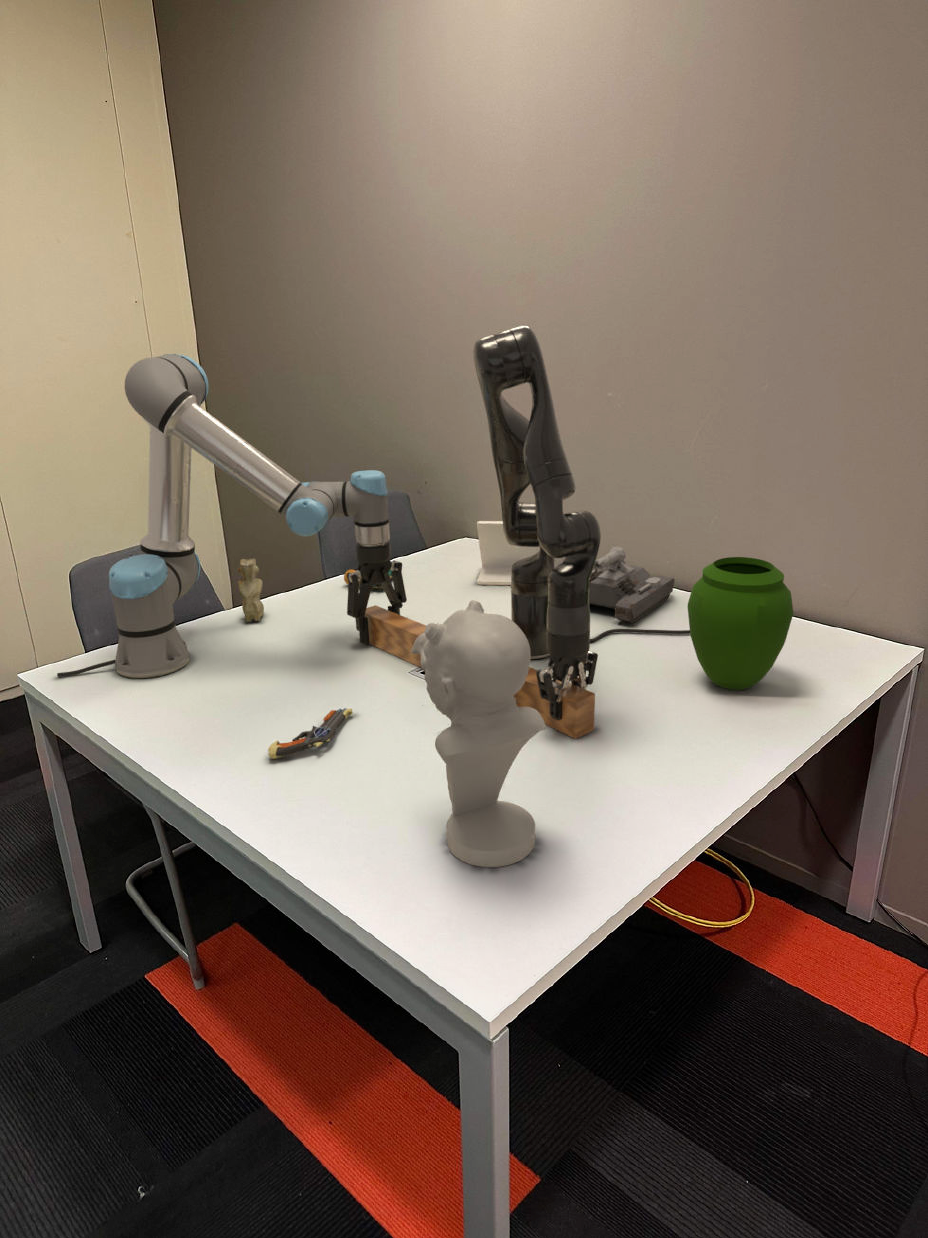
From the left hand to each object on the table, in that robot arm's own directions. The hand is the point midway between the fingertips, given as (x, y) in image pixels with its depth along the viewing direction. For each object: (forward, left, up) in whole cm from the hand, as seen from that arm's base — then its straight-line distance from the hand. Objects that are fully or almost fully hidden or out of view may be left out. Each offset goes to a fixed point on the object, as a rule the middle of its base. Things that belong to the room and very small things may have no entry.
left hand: (379, 638), depth 196 cm
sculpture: (-29, +23, -1) cm, 37 cm away
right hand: (+29, -50, +2) cm, 58 cm away
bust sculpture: (+5, -78, -1) cm, 78 cm away
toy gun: (-17, -43, -1) cm, 46 cm away
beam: (+14, -25, -1) cm, 29 cm away
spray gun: (+3, +44, -1) cm, 44 cm away
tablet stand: (+45, +38, -1) cm, 59 cm away
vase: (+66, -41, -1) cm, 78 cm away
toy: (+60, +9, -1) cm, 61 cm away
